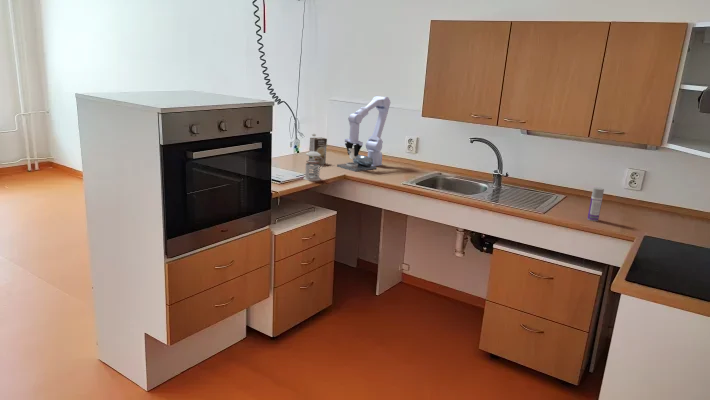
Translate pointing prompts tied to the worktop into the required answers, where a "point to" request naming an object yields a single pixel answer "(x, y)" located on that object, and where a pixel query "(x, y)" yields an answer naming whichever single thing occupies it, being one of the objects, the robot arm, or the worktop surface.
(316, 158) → the coffee box
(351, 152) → the white mushroom knob
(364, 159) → the motor mount
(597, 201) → the container
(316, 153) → the french press
